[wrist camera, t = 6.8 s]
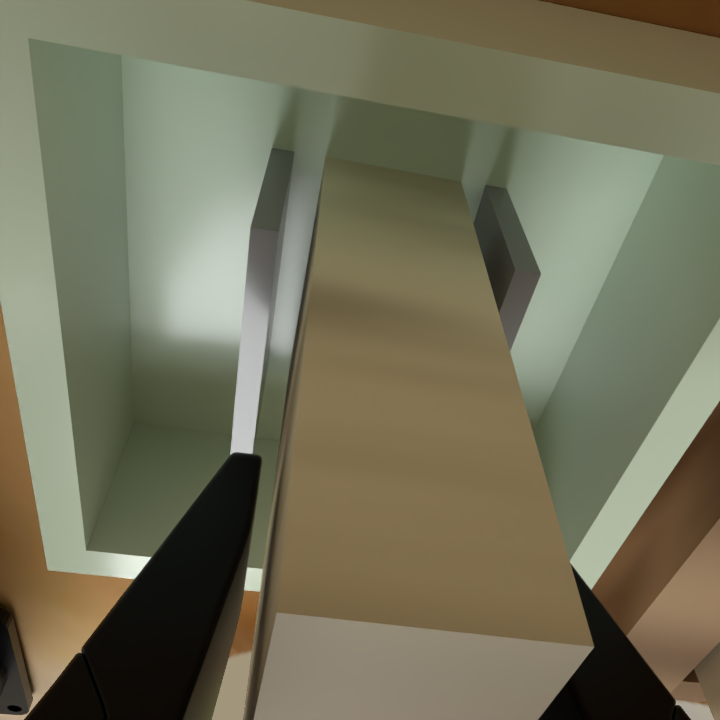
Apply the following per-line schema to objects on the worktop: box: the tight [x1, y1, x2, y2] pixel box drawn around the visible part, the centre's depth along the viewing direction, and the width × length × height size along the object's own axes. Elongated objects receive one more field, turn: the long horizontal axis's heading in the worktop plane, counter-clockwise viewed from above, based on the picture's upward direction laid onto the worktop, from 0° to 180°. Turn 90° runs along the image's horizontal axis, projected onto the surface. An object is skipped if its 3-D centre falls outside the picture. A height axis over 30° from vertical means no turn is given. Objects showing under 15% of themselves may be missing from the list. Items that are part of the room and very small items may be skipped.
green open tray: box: [0, 0, 720, 592], centre depth 12 cm, size 11×11×4 cm
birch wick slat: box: [243, 156, 594, 720], centre depth 10 cm, size 5×2×9 cm, turn 169°
